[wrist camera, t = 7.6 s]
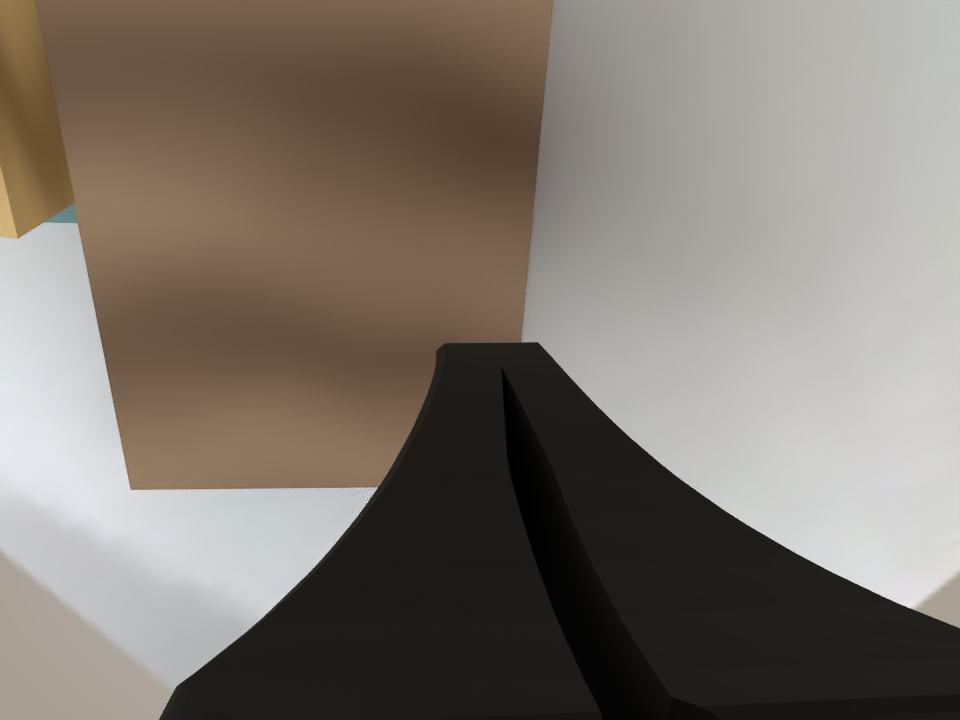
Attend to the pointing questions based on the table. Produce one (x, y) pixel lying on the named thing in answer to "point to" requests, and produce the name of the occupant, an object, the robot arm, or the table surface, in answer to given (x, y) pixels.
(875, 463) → the table surface
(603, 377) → the table surface
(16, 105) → the tile
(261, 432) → the deck
